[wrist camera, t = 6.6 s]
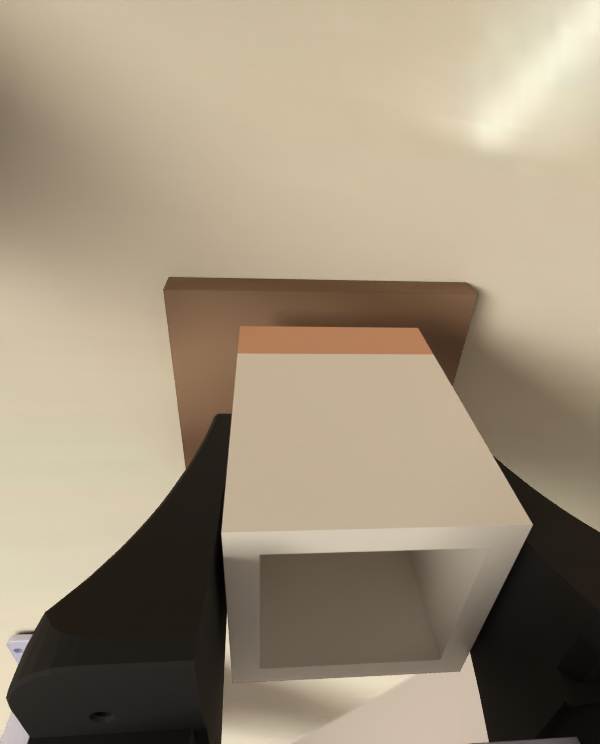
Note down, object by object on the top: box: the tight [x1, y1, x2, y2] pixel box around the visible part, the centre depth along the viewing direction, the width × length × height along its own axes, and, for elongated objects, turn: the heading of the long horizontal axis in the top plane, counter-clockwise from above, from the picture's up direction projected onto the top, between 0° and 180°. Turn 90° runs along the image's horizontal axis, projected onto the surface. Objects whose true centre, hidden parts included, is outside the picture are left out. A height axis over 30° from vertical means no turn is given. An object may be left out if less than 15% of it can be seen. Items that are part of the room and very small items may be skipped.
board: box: [163, 277, 478, 468], centre depth 19 cm, size 15×10×1 cm, turn 177°
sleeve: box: [221, 326, 533, 683], centre depth 12 cm, size 5×5×7 cm
